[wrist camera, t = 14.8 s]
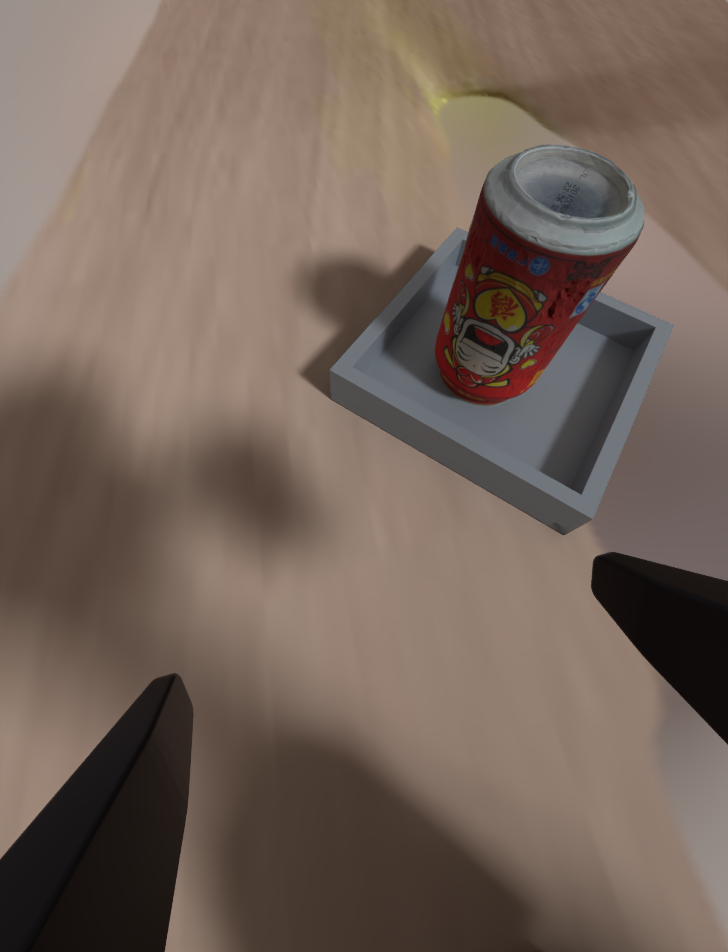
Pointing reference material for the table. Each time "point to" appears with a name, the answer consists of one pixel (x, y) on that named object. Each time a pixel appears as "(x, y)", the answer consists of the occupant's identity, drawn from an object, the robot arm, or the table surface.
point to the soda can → (532, 267)
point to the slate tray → (518, 419)
